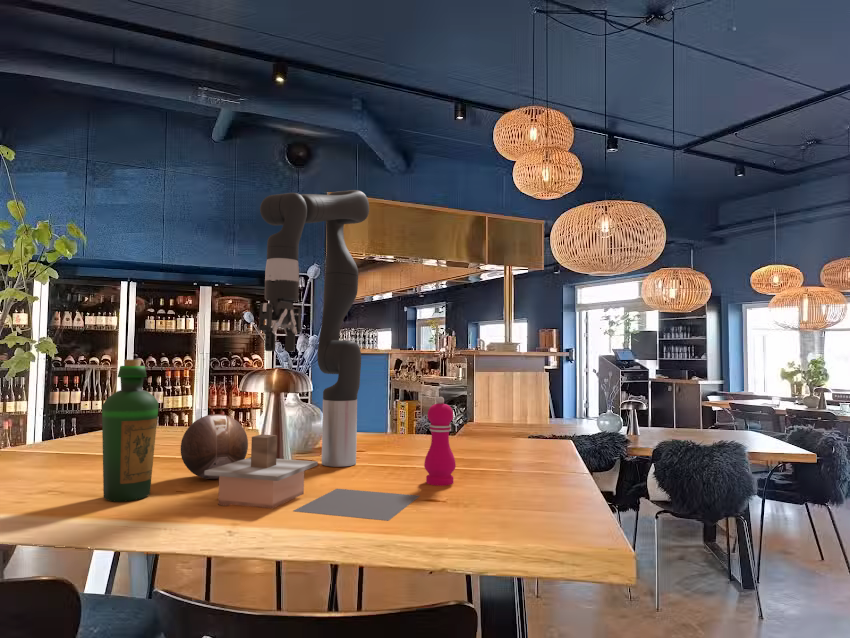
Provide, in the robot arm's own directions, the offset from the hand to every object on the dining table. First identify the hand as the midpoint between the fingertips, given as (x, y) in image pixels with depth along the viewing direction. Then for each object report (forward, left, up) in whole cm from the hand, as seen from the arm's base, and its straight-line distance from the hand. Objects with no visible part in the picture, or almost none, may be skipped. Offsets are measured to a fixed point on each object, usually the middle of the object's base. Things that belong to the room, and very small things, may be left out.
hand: (280, 351), depth 131 cm
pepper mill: (-14, +34, -30) cm, 48 cm away
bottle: (+19, -23, -30) cm, 43 cm away
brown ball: (-2, -18, -30) cm, 35 cm away
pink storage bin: (+12, +4, -30) cm, 33 cm away
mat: (+9, +24, -30) cm, 40 cm away
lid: (+12, +4, -24) cm, 27 cm away
